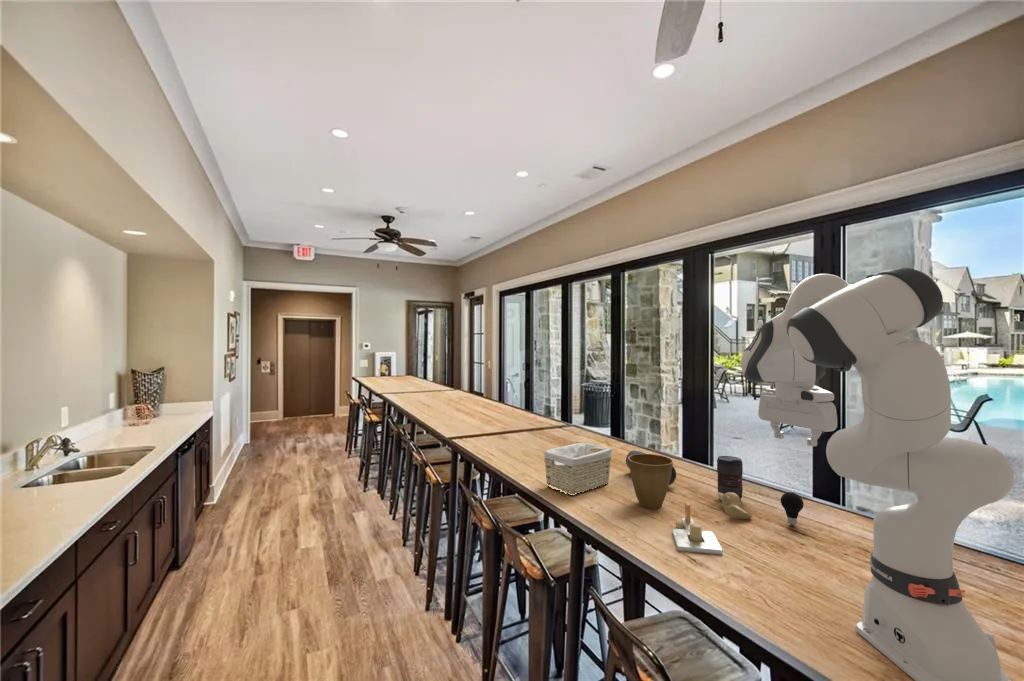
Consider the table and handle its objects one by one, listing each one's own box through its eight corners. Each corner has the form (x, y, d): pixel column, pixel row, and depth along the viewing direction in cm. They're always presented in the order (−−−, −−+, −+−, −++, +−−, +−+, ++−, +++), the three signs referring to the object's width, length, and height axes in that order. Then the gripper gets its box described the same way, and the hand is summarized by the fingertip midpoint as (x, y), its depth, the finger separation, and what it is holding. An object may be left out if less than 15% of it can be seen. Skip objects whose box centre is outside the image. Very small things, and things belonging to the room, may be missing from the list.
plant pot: (665, 517, 139) (665, 467, 139) (622, 506, 148) (621, 460, 148) (679, 502, 150) (678, 457, 150) (638, 494, 159) (637, 451, 159)
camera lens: (748, 502, 149) (747, 459, 149) (731, 506, 146) (730, 462, 146) (729, 494, 157) (728, 454, 157) (712, 498, 154) (711, 456, 154)
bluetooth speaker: (624, 473, 184) (624, 450, 184) (643, 470, 187) (642, 448, 187) (657, 490, 163) (656, 464, 163) (677, 487, 166) (677, 461, 166)
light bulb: (807, 530, 127) (807, 496, 127) (785, 528, 129) (785, 495, 128) (798, 522, 133) (798, 489, 133) (777, 520, 134) (777, 488, 134)
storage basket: (583, 475, 183) (583, 440, 183) (614, 484, 170) (613, 447, 170) (542, 488, 168) (541, 450, 168) (572, 499, 155) (571, 459, 155)
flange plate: (722, 554, 111) (722, 530, 111) (677, 550, 114) (677, 527, 114) (706, 523, 130) (705, 502, 130) (668, 520, 133) (667, 500, 133)
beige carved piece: (729, 505, 132) (717, 482, 143) (720, 523, 134) (709, 499, 145) (756, 513, 131) (742, 489, 142) (746, 531, 133) (734, 506, 145)
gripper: (752, 388, 126) (753, 435, 126) (823, 396, 106) (824, 451, 106) (768, 387, 128) (769, 433, 128) (841, 394, 109) (841, 449, 109)
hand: (795, 441), depth 117 cm, fingers open, 8 cm apart
